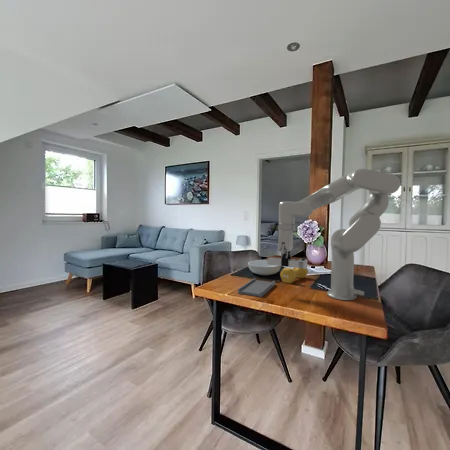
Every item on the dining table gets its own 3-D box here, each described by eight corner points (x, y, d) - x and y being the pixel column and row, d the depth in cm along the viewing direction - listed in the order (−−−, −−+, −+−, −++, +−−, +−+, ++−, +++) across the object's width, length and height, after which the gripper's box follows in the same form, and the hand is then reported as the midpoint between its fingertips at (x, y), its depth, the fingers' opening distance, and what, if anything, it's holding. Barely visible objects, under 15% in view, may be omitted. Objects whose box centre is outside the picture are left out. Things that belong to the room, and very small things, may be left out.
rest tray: (274, 284, 138) (275, 280, 138) (261, 297, 119) (261, 292, 119) (254, 281, 144) (254, 278, 144) (238, 293, 124) (238, 288, 124)
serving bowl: (241, 271, 167) (241, 261, 167) (267, 268, 177) (267, 258, 177) (260, 279, 149) (260, 268, 149) (288, 275, 159) (288, 264, 158)
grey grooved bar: (307, 266, 120) (307, 257, 120) (305, 268, 117) (305, 259, 116) (270, 263, 129) (270, 254, 129) (267, 264, 125) (267, 255, 125)
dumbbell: (295, 275, 158) (295, 262, 158) (309, 278, 152) (309, 264, 152) (278, 281, 145) (278, 267, 144) (293, 285, 138) (293, 270, 138)
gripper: (283, 226, 131) (283, 261, 132) (273, 228, 116) (272, 267, 117) (298, 226, 127) (298, 262, 128) (289, 228, 113) (289, 269, 114)
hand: (286, 264), depth 123 cm, fingers closed on grey grooved bar, 4 cm apart
